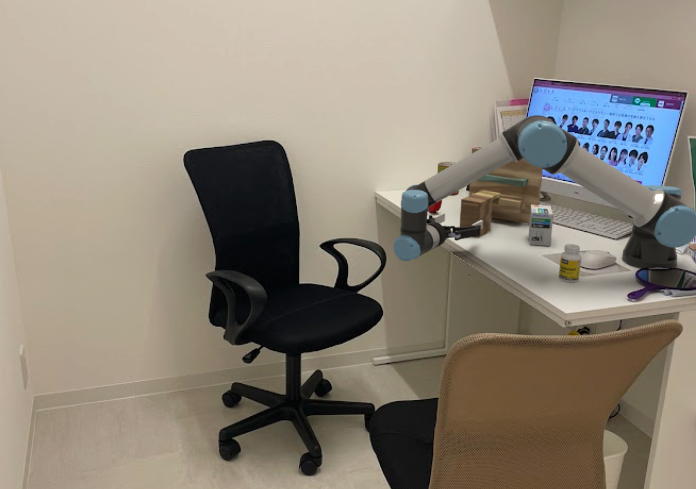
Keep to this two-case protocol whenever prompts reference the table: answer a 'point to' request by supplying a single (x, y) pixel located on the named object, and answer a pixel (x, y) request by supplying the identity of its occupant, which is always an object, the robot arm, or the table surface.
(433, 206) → the magnet
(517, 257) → the table surface
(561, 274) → the supplement bottle
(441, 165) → the beverage can
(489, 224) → the cabinet
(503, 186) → the wall board
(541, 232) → the light bulb box
